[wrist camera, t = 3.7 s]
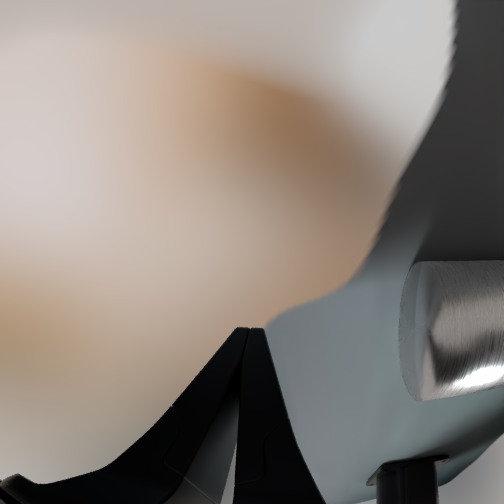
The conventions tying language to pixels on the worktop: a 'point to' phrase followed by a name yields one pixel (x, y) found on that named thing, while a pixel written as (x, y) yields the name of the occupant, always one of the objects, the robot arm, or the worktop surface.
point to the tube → (452, 328)
